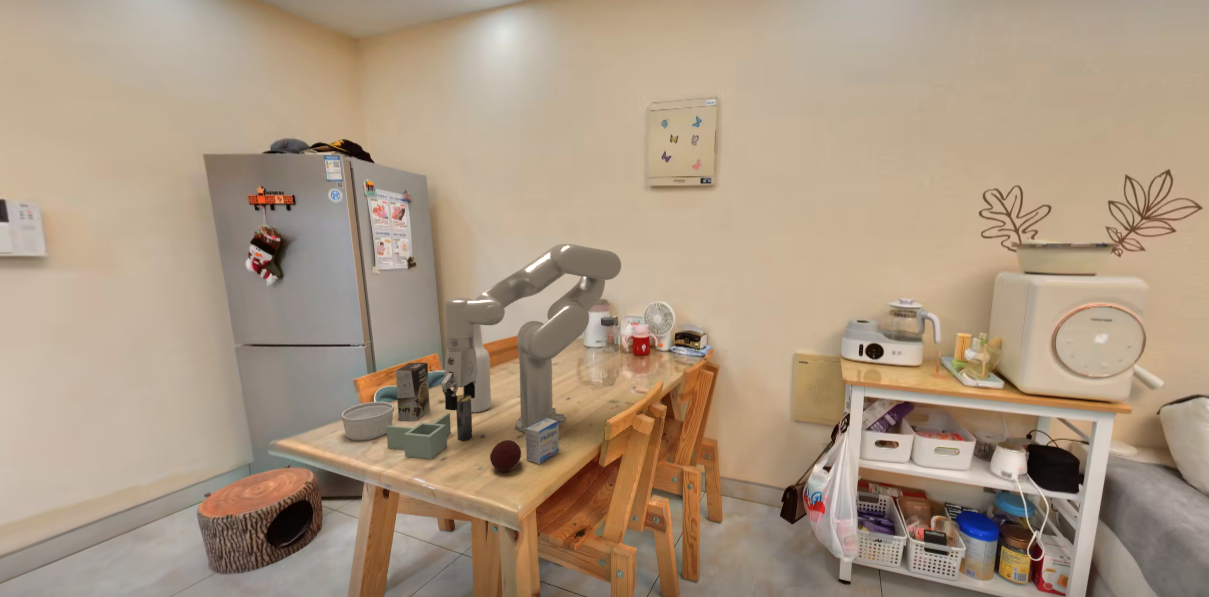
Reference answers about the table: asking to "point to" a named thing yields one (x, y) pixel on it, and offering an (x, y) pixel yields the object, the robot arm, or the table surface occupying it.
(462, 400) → the cylindrical canister
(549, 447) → the medicine box
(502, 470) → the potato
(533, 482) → the table surface
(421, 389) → the coffee box
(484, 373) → the alcohol
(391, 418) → the ramekin
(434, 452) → the grey-green frame piece
